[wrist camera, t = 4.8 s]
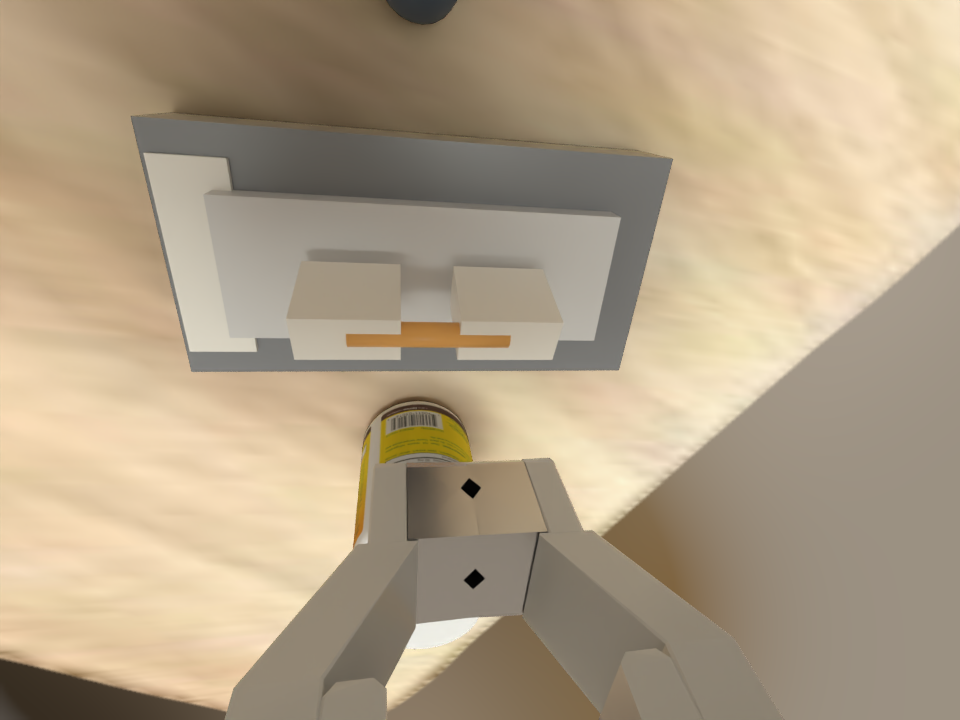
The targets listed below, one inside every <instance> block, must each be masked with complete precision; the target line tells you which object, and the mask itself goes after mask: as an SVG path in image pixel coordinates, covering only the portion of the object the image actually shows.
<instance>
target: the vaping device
mask: <svg viewBox="0 0 960 720" xmlns="http://www.w3.org/2000/svg"><path fill="white" fill-rule="evenodd" d="M387 2H388V4H389V5H390V7H391V8H392V9H393V10H394V11H395V12H396V13H397V14H398V15H400V16H401V17H403V18H405V19H407V20H408V21H410V22H414V23H419V24H431V23H435V22H437V21H439V20H441V19H443V18H444V17H445V16H446V15H447V14H448V13H449V12H450V11H451V9H452V8H453V6H454V5H455V3H456V2H457V0H387Z"/></svg>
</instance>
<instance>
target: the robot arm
mask: <svg viewBox="0 0 960 720" xmlns="http://www.w3.org/2000/svg"><path fill="white" fill-rule="evenodd" d="M510 615H523V619H524V620H525V621H526V622H527V624H528V625H529V626H530V627H531V629H532V630H533V631H534V632H535V634H536V635H537V636H538V637H539V639H540V640H541V641H542V642H543V643H544V645H545V646H546V647H547V648H548V650H549V651H550V652H551V653H552V655H553V656H554V657H555V658H556V659H557V661H558V662H559V663H560V664H561V666H562V667H563V668H564V669H565V671H566V672H567V673H568V674H569V676H570V677H571V678H572V679H573V680H574V682H575V683H576V684H577V685H578V687H579V688H580V689H581V690H582V691H583V693H584V694H585V695H586V696H587V698H588V699H589V700H590V701H591V703H592V704H593V705H594V706H595V707H596V709H597V710H598V711H599V712H600V714H601V715H600V718H599V720H784V719H783V717H782V715H781V714H780V712H779V710H778V709H777V707H776V706H775V704H774V702H773V701H772V699H771V697H770V696H769V694H768V693H767V691H766V689H765V688H764V686H763V684H762V683H761V681H760V680H759V678H758V676H757V675H756V673H755V672H754V670H753V668H752V667H751V665H750V664H749V662H748V660H747V659H746V657H745V655H744V654H743V652H742V651H741V649H740V647H739V646H738V644H737V642H736V641H735V639H734V638H733V637H732V636H730V635H729V634H728V633H726V632H725V631H724V630H723V629H721V628H720V627H719V626H717V625H716V624H715V623H713V622H712V621H711V620H709V619H708V618H707V617H706V616H704V615H703V614H702V613H700V612H699V611H698V610H696V609H695V608H694V607H692V606H691V605H690V604H688V603H687V602H686V601H684V600H683V599H682V598H680V597H679V596H678V595H677V594H675V593H674V592H673V591H671V590H670V589H669V588H667V587H666V586H665V585H663V584H662V583H661V582H659V581H658V580H657V579H656V578H654V577H653V576H652V575H650V574H649V573H648V572H646V571H645V570H644V569H642V568H641V567H640V566H639V565H637V564H636V563H635V562H633V561H632V560H631V559H629V558H628V557H627V556H625V555H624V554H623V553H621V552H620V551H619V550H617V549H616V548H615V547H614V546H612V545H611V544H610V543H608V542H607V541H605V540H604V539H603V538H602V537H600V536H599V535H598V534H596V533H595V532H594V531H593V530H590V531H583V528H582V526H581V524H580V521H579V519H578V517H577V514H576V512H575V510H574V507H573V505H572V503H571V501H570V498H569V496H568V494H567V491H566V489H565V487H564V484H563V482H562V480H561V477H560V475H559V473H558V470H557V468H556V466H555V463H554V461H552V460H551V459H550V458H539V459H522V460H509V461H483V462H427V463H406V464H405V463H378V464H375V465H374V469H373V478H372V491H371V504H370V517H369V531H368V543H366V544H357V545H356V546H355V548H354V549H353V550H352V551H351V552H350V553H349V555H348V556H347V557H346V558H345V559H344V560H343V562H342V563H341V564H340V565H339V566H338V567H337V569H336V570H335V571H334V572H333V573H332V574H331V576H330V577H329V578H328V579H327V580H326V581H325V583H324V584H323V585H322V586H321V587H320V588H319V590H318V591H317V592H316V593H315V594H314V595H313V597H312V598H311V599H310V600H309V601H308V602H307V604H306V605H305V606H304V607H303V608H302V609H301V611H300V612H299V613H298V614H297V615H296V616H295V617H294V619H293V620H292V621H291V622H290V623H289V624H288V626H287V627H286V628H285V629H284V630H283V631H282V633H281V634H280V635H279V636H278V637H277V638H276V640H275V641H274V642H273V643H272V644H271V645H270V647H269V648H268V649H267V650H266V651H265V652H264V654H263V655H262V656H261V657H260V658H259V659H258V661H257V662H256V663H255V664H254V665H253V666H252V668H251V669H250V670H249V671H248V672H247V673H246V675H245V676H244V677H243V678H242V679H241V680H240V682H239V683H238V684H237V685H236V686H235V687H234V689H233V692H232V696H231V699H230V703H229V706H228V710H227V713H226V717H225V720H387V690H386V688H385V686H386V684H387V682H388V680H389V678H390V676H391V674H392V673H393V671H394V669H395V667H396V665H397V663H398V661H399V659H400V657H401V655H402V653H403V651H404V649H405V648H406V646H407V644H408V642H409V640H410V638H411V636H412V634H413V632H414V630H415V628H416V624H421V623H429V622H438V621H447V620H455V619H464V618H476V617H493V616H510Z"/></svg>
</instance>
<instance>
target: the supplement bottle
mask: <svg viewBox="0 0 960 720" xmlns="http://www.w3.org/2000/svg"><path fill="white" fill-rule="evenodd" d="M427 462H473V460H472V456H471V451H470V446H469V441H468V437H467V434H466V431H465V428H464V426H463V424H462V423H461V421H460V420H459V419H458V417H457V416H456V415H454V414H453V413H452V412H451V411H449V410H448V409H446V408H444V407H442V406H440V405H437V404H434V403H430V402H424V401H413V402H406V403H401V404H398V405H395V406H393V407H391V408H389V409H387V410H385V411H384V412H382V413H381V414H380V415H378V416H377V417H376V418H375V419H374V420H373V422H372V423H371V424H370V426H369V428H368V429H367V431H366V434H365V436H364V441H363V448H362V459H361V471H360V481H359V491H358V502H357V513H356V524H355V534H354V544H353V549H354V548H355V546H356V545H357V544H366V543H368V531H369V517H370V504H371V491H372V478H373V469H374V465H375V464H378V463H405V464H406V463H427ZM478 618H479V617H476V618H464V619H455V620H447V621H438V622H429V623H421V624H416V628H415V630H414V632H413V634H412V636H411V638H410V640H409V642H408V644H407V646H406V648H407V649H426V648H432V647H438V646H441V645H444V644H447V643H450V642H452V641H454V640H456V639H458V638H460V637H461V636H463V635H464V634H466V633H467V632H468V631H469V630H470V629H471V628H472V627H473V626H474V625H475V623H476V622H477V620H478Z"/></svg>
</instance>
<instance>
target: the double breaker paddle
mask: <svg viewBox="0 0 960 720" xmlns="http://www.w3.org/2000/svg"><path fill="white" fill-rule="evenodd" d="M450 307H451V315H452V322H401V264H377V263H348V262H319V261H301V264H300V268H299V271H298V275H297V279H296V283H295V286H294V290H293V294H292V298H291V301H290V305H289V309H288V313H287V317H286V322H287V327H288V332H289V336H290V341H291V346H292V351H293V356H294V360H401V347H418V348H456V354H457V360H552V359H553V356H554V353H555V350H556V346H557V343H558V340H559V337H560V333H561V330H562V327H563V324H564V322H563V320H562V317H561V315H560V312H559V309H558V307H557V304H556V302H555V299H554V297H553V294H552V291H551V289H550V286H549V284H548V281H547V279H546V276H545V273H544V271H543V269H523V268H494V267H465V266H453V277H452V287H451V298H450Z"/></svg>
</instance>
